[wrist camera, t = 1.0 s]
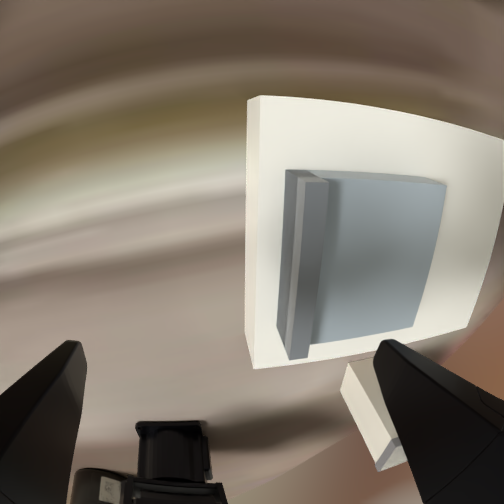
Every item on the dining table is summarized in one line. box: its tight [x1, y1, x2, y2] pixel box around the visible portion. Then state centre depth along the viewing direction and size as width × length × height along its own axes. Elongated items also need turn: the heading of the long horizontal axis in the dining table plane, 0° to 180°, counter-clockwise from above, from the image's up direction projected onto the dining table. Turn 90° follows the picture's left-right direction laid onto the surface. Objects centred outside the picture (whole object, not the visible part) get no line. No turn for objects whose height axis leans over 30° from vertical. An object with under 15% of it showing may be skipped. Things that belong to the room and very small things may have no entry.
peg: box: [340, 357, 407, 472], centre depth 23 cm, size 4×4×10 cm
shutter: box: [276, 169, 447, 360], centre depth 16 cm, size 8×9×3 cm
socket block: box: [245, 95, 504, 369], centre depth 20 cm, size 19×16×4 cm
